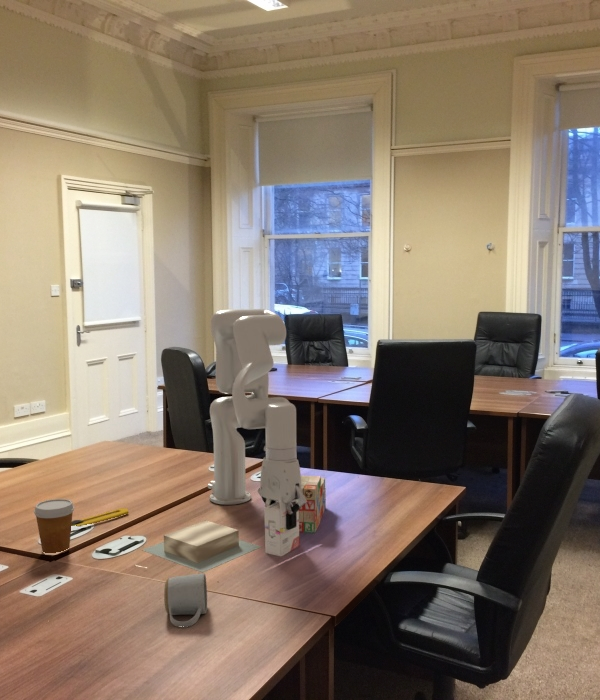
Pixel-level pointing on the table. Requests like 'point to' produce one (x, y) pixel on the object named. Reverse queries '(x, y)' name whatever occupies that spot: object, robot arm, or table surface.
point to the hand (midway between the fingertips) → (281, 524)
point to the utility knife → (100, 517)
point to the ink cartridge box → (279, 530)
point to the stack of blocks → (312, 503)
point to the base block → (201, 541)
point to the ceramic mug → (186, 597)
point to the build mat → (208, 563)
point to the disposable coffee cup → (54, 524)
